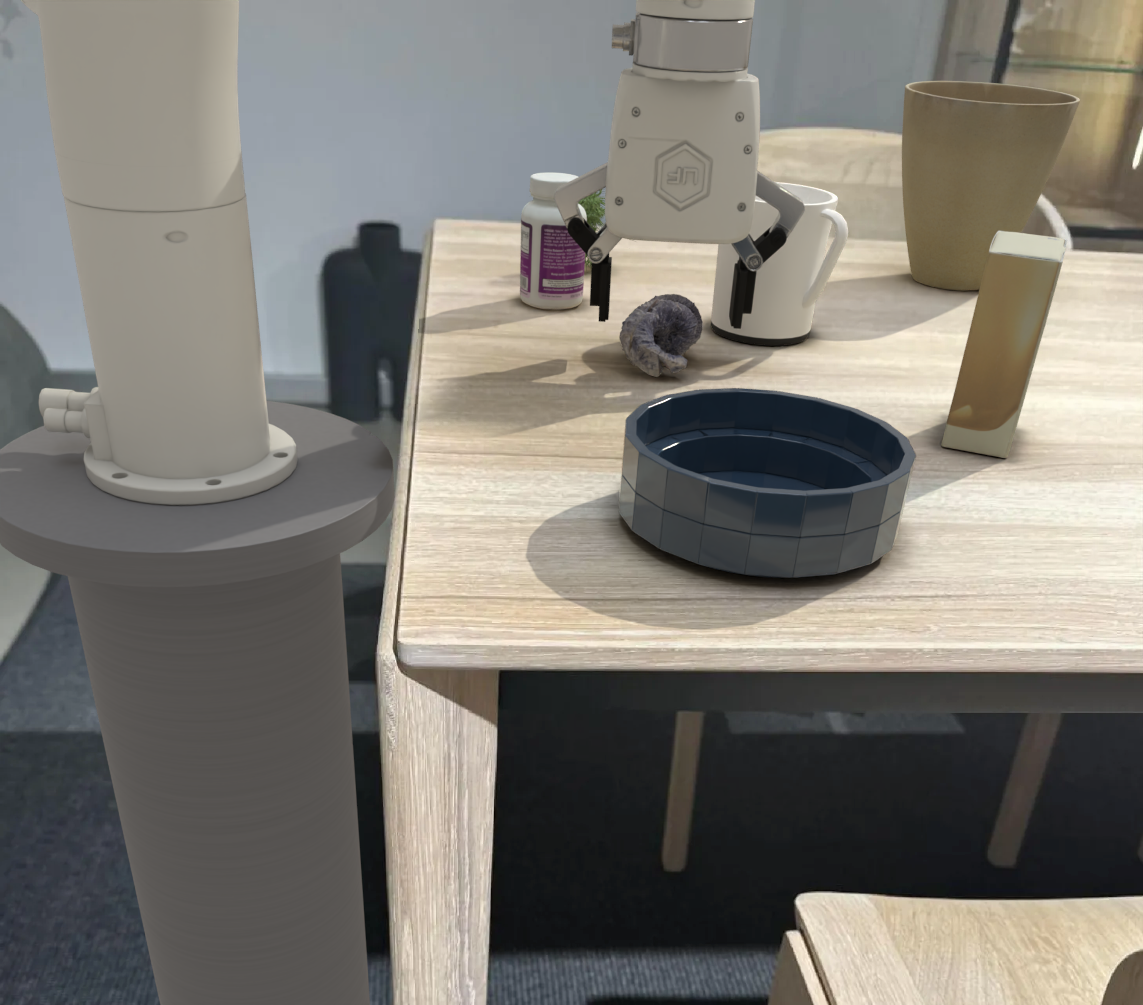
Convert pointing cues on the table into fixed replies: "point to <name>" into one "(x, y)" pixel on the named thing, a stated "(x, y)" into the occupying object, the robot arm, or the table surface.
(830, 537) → the bowl
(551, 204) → the pill bottle
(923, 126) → the plant pot
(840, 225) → the mug
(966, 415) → the cosmetic box
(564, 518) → the table surface
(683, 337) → the seashell
